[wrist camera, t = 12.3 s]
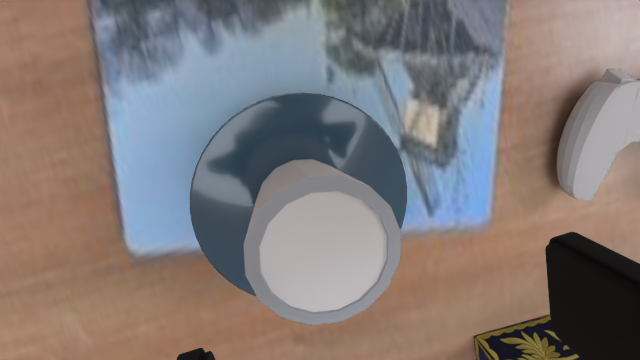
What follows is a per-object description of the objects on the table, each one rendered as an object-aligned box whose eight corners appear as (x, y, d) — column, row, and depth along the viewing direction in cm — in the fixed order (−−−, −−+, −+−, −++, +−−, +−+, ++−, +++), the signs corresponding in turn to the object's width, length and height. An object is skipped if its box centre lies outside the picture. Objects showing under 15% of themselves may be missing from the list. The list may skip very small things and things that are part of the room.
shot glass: (231, 164, 22) (222, 199, 15) (348, 135, 22) (389, 157, 16) (261, 271, 24) (265, 346, 17) (368, 241, 24) (413, 302, 18)
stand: (176, 118, 27) (154, 128, 21) (356, 70, 28) (384, 67, 22) (234, 281, 30) (230, 330, 24) (391, 232, 31) (423, 267, 25)
